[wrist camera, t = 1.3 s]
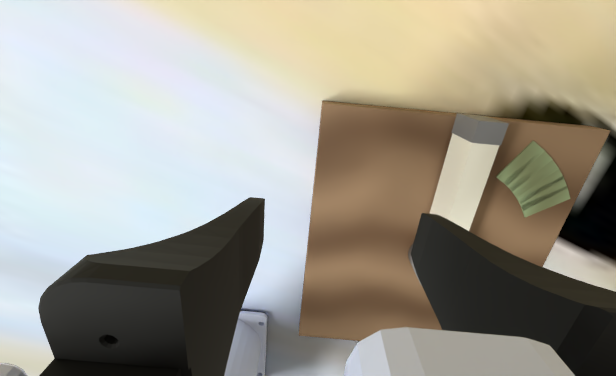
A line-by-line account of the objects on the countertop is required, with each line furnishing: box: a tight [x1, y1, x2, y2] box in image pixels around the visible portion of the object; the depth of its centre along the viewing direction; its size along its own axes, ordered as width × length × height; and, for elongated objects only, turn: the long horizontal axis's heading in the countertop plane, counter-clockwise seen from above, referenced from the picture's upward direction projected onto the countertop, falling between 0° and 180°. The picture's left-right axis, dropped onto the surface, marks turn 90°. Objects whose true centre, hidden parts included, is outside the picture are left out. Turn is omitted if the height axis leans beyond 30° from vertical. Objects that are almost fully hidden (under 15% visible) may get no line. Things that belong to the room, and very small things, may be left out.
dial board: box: [299, 101, 610, 341], centre depth 22 cm, size 20×18×2 cm
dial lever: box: [408, 113, 509, 286], centre depth 19 cm, size 12×3×3 cm, turn 175°
